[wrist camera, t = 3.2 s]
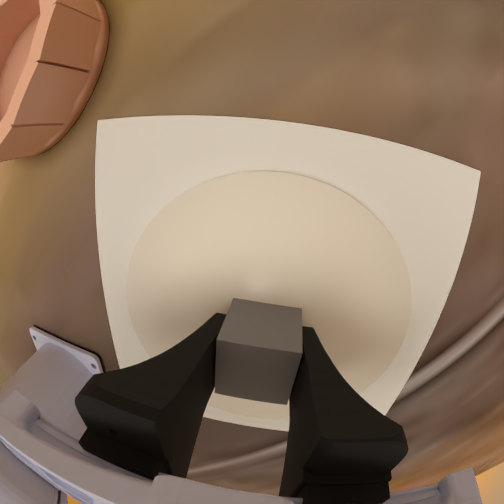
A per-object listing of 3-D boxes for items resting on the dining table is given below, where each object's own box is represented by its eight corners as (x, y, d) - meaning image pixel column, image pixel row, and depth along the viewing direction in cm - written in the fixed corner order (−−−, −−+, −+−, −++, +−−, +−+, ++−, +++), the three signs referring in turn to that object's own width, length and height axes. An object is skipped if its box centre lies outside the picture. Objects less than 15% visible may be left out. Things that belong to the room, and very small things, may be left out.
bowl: (94, 150, 12) (28, 158, 8) (-4, 160, 13) (-49, 171, 9) (128, -27, 8) (84, -58, 4) (17, 27, 9) (-24, 20, 5)
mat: (370, 429, 16) (371, 434, 15) (130, 389, 18) (127, 393, 17) (475, 170, 10) (480, 171, 9) (103, 120, 11) (97, 120, 11)
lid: (355, 419, 15) (361, 463, 12) (147, 384, 16) (124, 423, 13) (441, 203, 10) (488, 225, 7) (127, 160, 11) (75, 168, 8)
